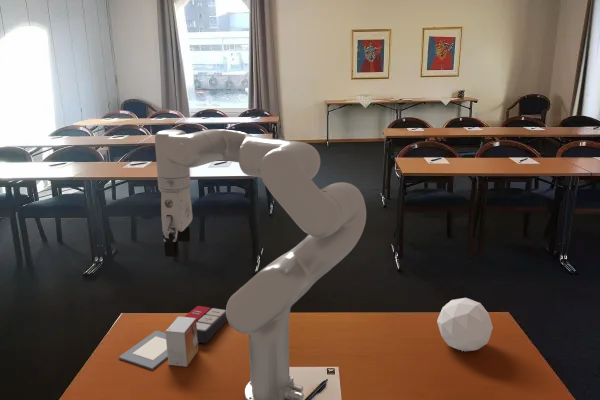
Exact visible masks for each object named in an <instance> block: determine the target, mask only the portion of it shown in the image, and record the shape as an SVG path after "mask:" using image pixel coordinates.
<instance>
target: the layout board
mask: <svg viewBox="0 0 600 400" xmlns="http://www.w3.org/2000/svg"><path fill="white" fill-rule="evenodd" d="M118 359H119V360H120V361H125V362H126V363H130V364H132V365H135V366H140V367H142V368H146V369H147V370H151V371H153V370H155V369H156V368H158V366H160V365H161V364H162V363H164V362H165V360H168V354H167V344H166V333H165V331H164V332H163V331H160V330H154V331H153V332H152V333H151V334H149V335H147V336H145V338H144V339H142V340H141V341H139V342H138V343H136V344H134V346H132V347H130V348H129V349H128V350H127V351H125V352H124V353H122V354H121V355H119V357H118Z"/></svg>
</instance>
